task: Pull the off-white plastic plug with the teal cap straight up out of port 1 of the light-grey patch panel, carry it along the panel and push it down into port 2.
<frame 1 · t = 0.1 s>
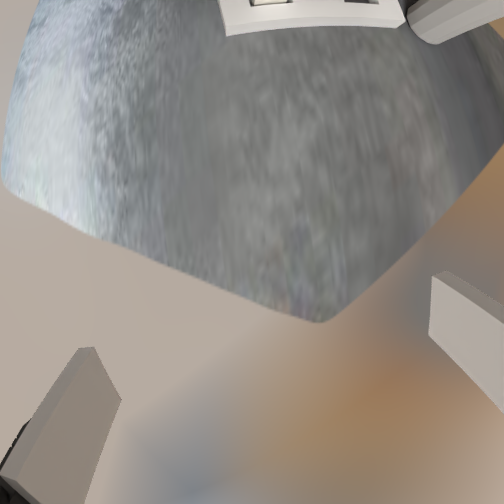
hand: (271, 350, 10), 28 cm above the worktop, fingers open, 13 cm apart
water bottle: (422, 21, 30), on the worktop
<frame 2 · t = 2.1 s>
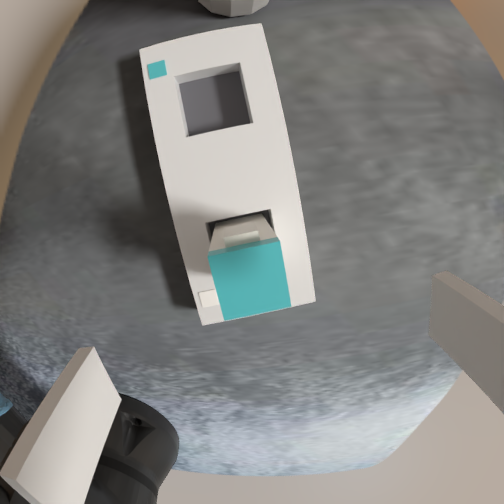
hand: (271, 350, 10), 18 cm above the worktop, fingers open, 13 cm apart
plug: (243, 240, 27), point 1 cm above the worktop, touching panel
panel: (228, 172, 26), on the worktop
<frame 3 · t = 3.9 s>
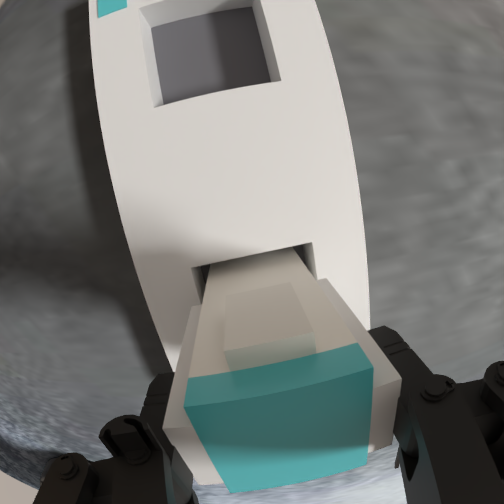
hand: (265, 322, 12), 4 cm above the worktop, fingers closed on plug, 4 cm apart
plug: (258, 289, 16), point 1 cm above the worktop, touching gripper, panel
panel: (233, 171, 15), on the worktop
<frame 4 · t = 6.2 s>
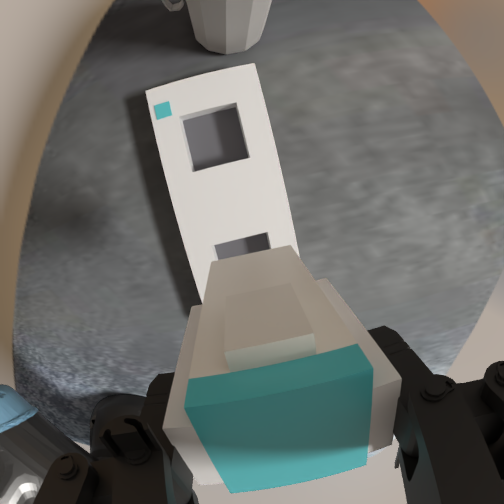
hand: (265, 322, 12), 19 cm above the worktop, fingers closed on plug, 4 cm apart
plug: (258, 289, 16), point 15 cm above the worktop, touching gripper
panel: (230, 198, 30), on the worktop
water bottle: (219, 28, 25), on the worktop
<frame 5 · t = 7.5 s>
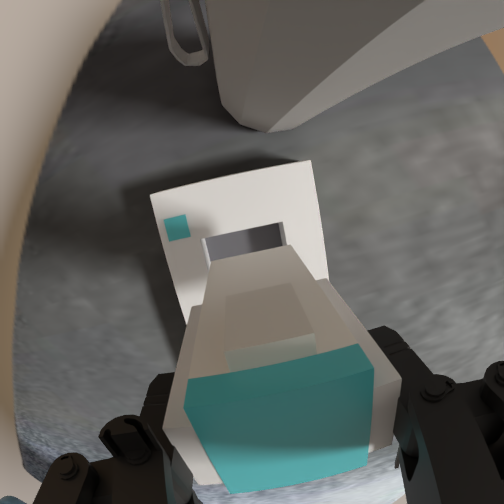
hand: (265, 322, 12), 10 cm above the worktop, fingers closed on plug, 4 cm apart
plug: (258, 289, 16), point 7 cm above the worktop, touching gripper
panel: (262, 327, 24), on the worktop
water bottle: (254, 86, 19), on the worktop
when the fingers open (6 cm above the worktop, at t = 8.6 s): plug drops 2 cm, resting on panel.
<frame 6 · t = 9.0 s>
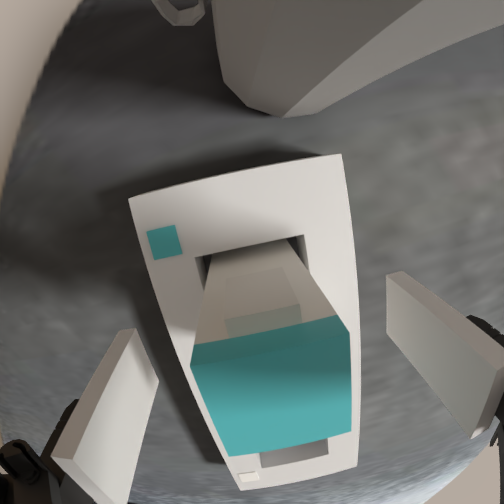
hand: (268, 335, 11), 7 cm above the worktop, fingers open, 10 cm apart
plug: (255, 279, 17), point 1 cm above the worktop, touching panel
panel: (273, 357, 20), on the worktop
water bottle: (265, 60, 15), on the worktop
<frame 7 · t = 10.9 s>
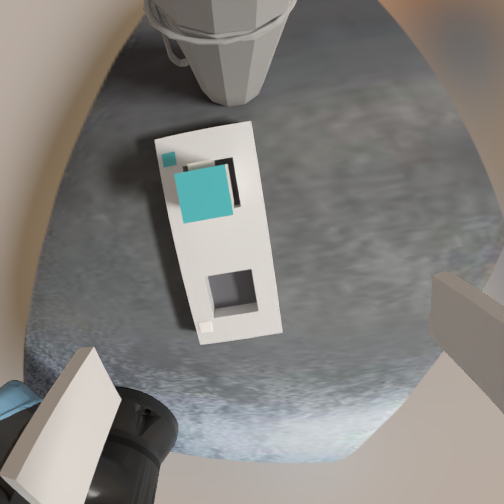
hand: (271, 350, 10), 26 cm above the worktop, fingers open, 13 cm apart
plug: (213, 185, 33), point 1 cm above the worktop, touching panel
panel: (223, 236, 35), on the worktop
water bottle: (223, 78, 30), on the worktop
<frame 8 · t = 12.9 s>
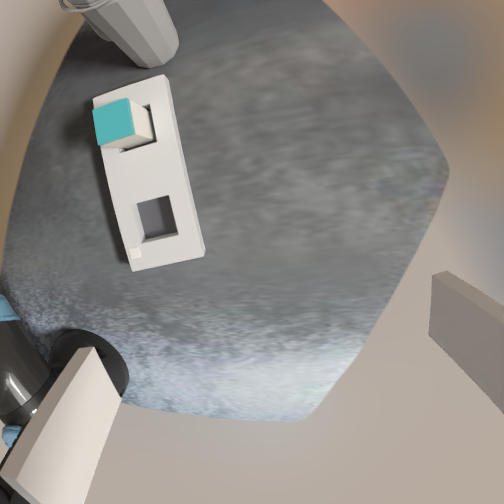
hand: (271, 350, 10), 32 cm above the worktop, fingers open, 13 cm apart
plug: (139, 130, 36), point 1 cm above the worktop, touching panel
panel: (149, 172, 39), on the worktop
water bottle: (148, 48, 34), on the worktop
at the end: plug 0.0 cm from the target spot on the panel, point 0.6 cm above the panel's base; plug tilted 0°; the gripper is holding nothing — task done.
